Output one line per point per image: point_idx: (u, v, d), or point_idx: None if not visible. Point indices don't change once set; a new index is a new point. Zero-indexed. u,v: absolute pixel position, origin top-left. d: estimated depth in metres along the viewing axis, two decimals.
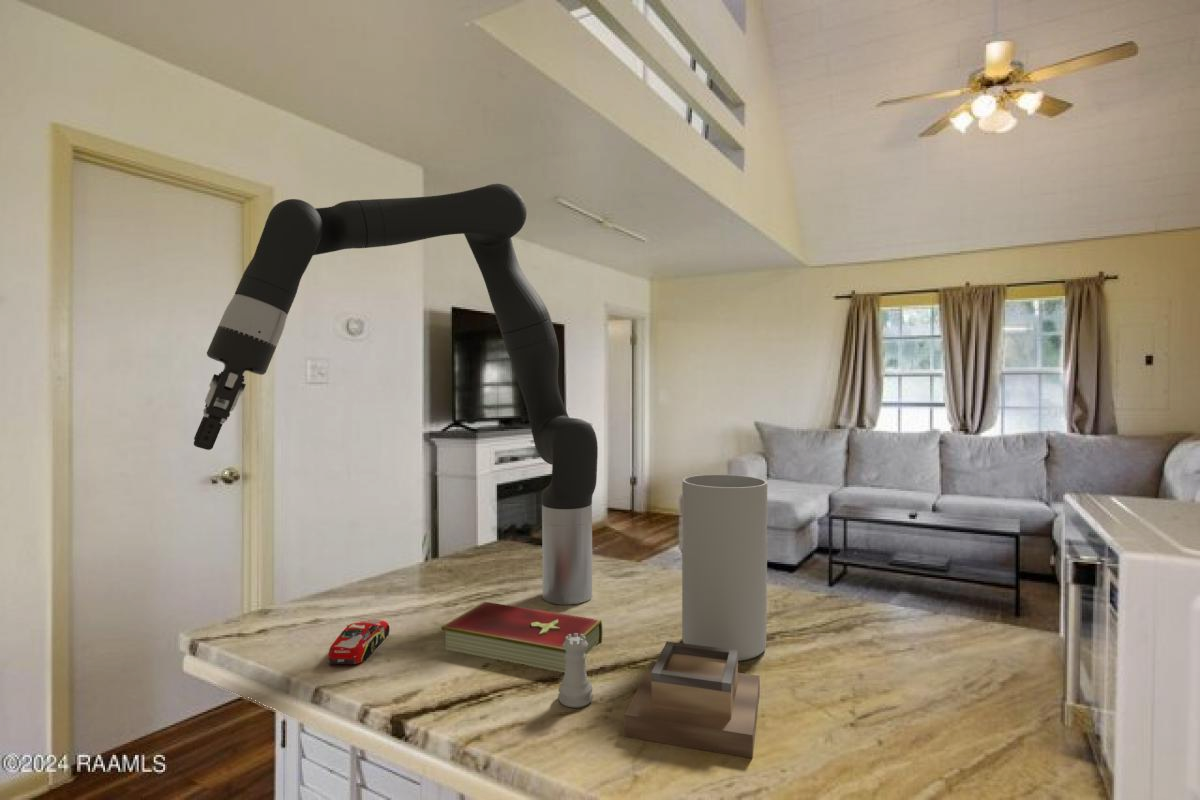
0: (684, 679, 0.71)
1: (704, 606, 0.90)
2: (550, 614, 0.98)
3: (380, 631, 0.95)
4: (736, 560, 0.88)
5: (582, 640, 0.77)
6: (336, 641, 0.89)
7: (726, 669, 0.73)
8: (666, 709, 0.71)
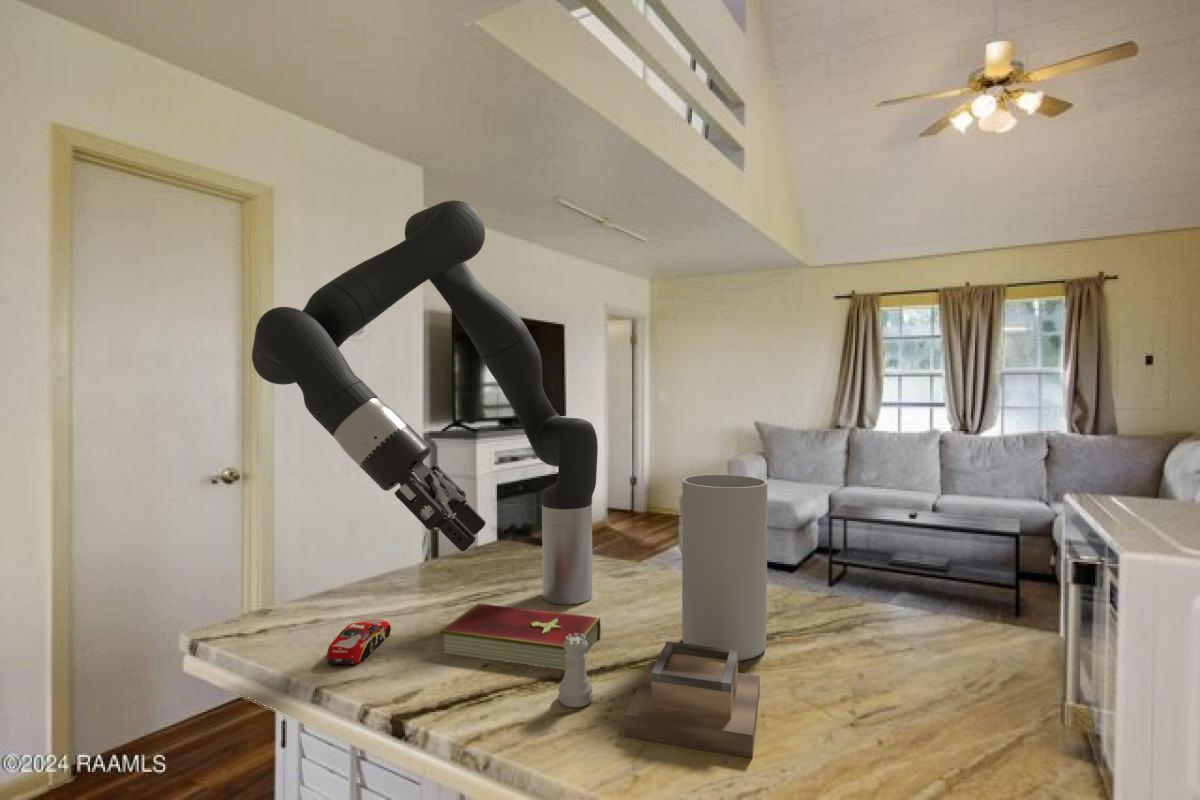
0: (684, 679, 0.71)
1: (704, 606, 0.90)
2: (547, 613, 0.98)
3: (380, 631, 0.95)
4: (736, 560, 0.88)
5: (582, 640, 0.77)
6: (335, 641, 0.89)
7: (726, 669, 0.73)
8: (666, 709, 0.71)
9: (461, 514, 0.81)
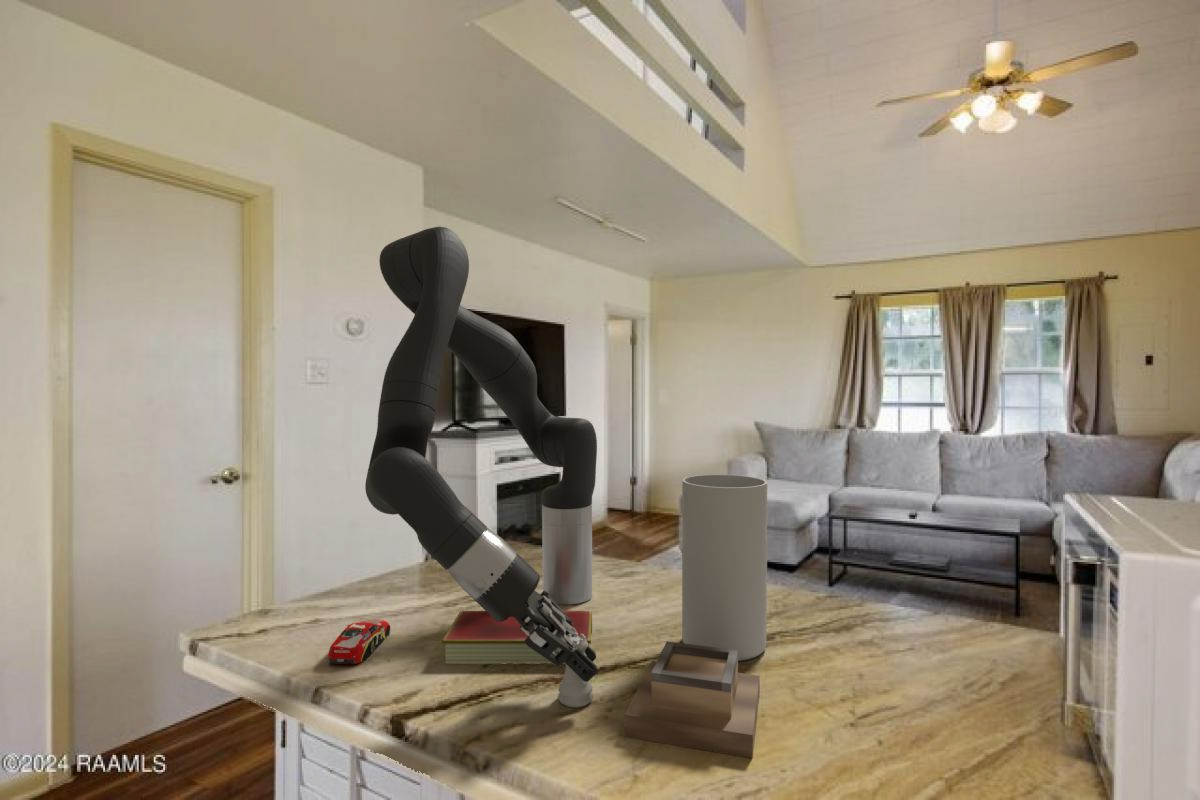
0: (684, 679, 0.71)
1: (704, 606, 0.90)
2: None
3: (380, 631, 0.95)
4: (736, 560, 0.88)
5: (582, 640, 0.77)
6: (336, 641, 0.89)
7: (726, 669, 0.73)
8: (666, 709, 0.71)
9: None
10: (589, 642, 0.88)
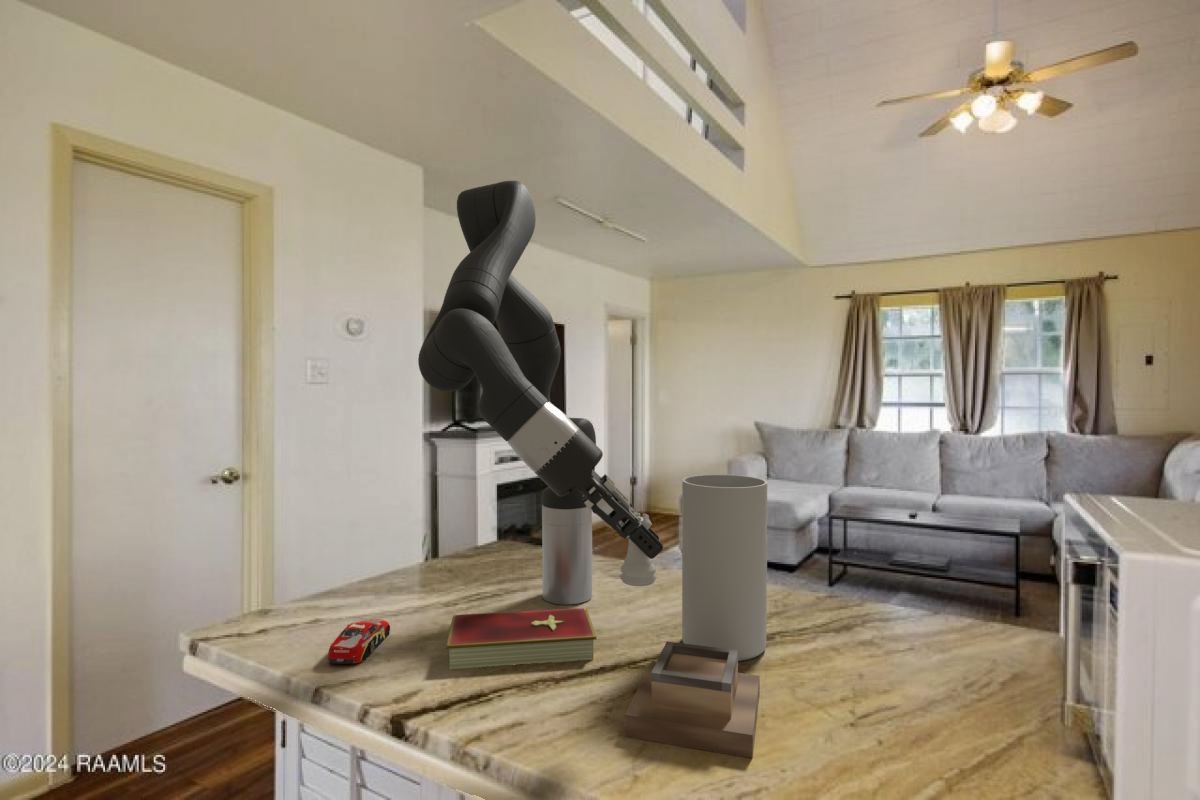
0: (684, 679, 0.71)
1: (704, 606, 0.90)
2: (535, 612, 0.99)
3: (380, 631, 0.95)
4: (736, 560, 0.88)
5: (646, 517, 0.75)
6: (336, 641, 0.90)
7: (726, 669, 0.73)
8: (666, 709, 0.71)
9: None
10: (595, 638, 0.90)
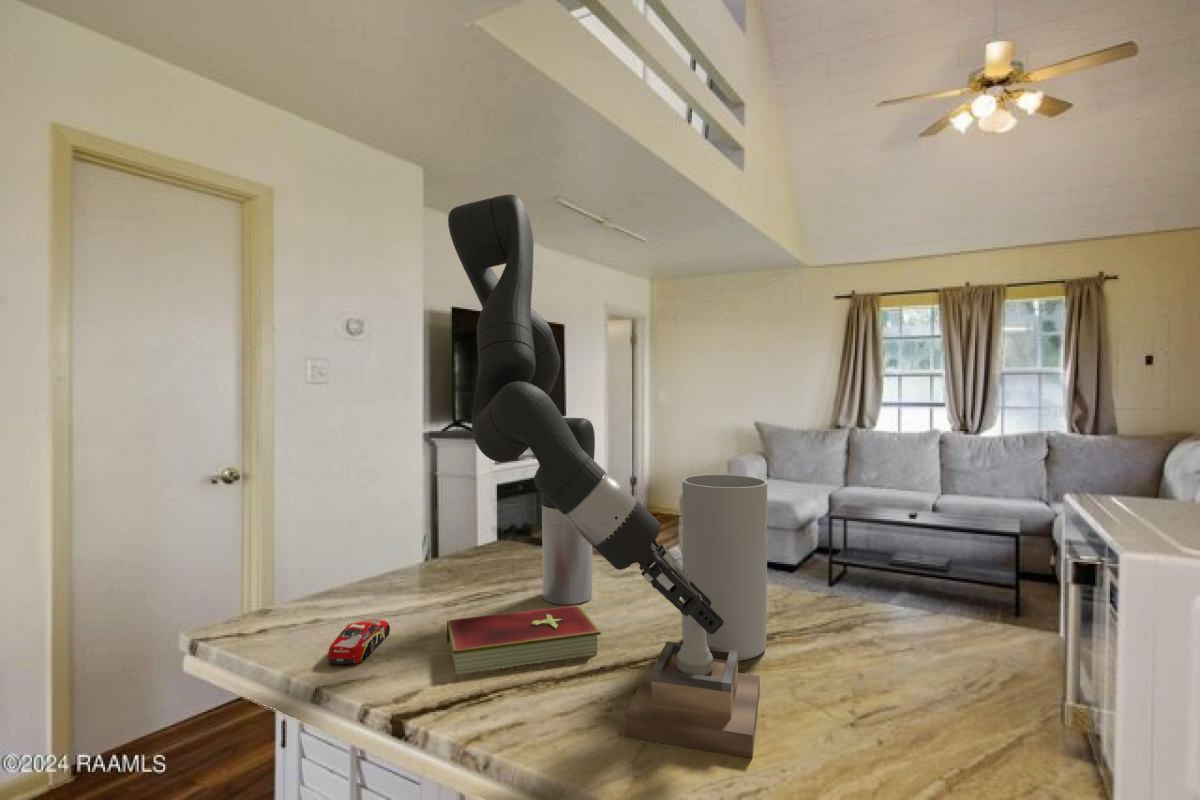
0: (684, 679, 0.71)
1: None
2: (530, 612, 0.99)
3: (380, 631, 0.96)
4: (736, 560, 0.88)
5: None
6: (336, 640, 0.90)
7: (726, 669, 0.73)
8: (666, 709, 0.71)
9: (687, 593, 0.77)
10: (599, 633, 0.91)
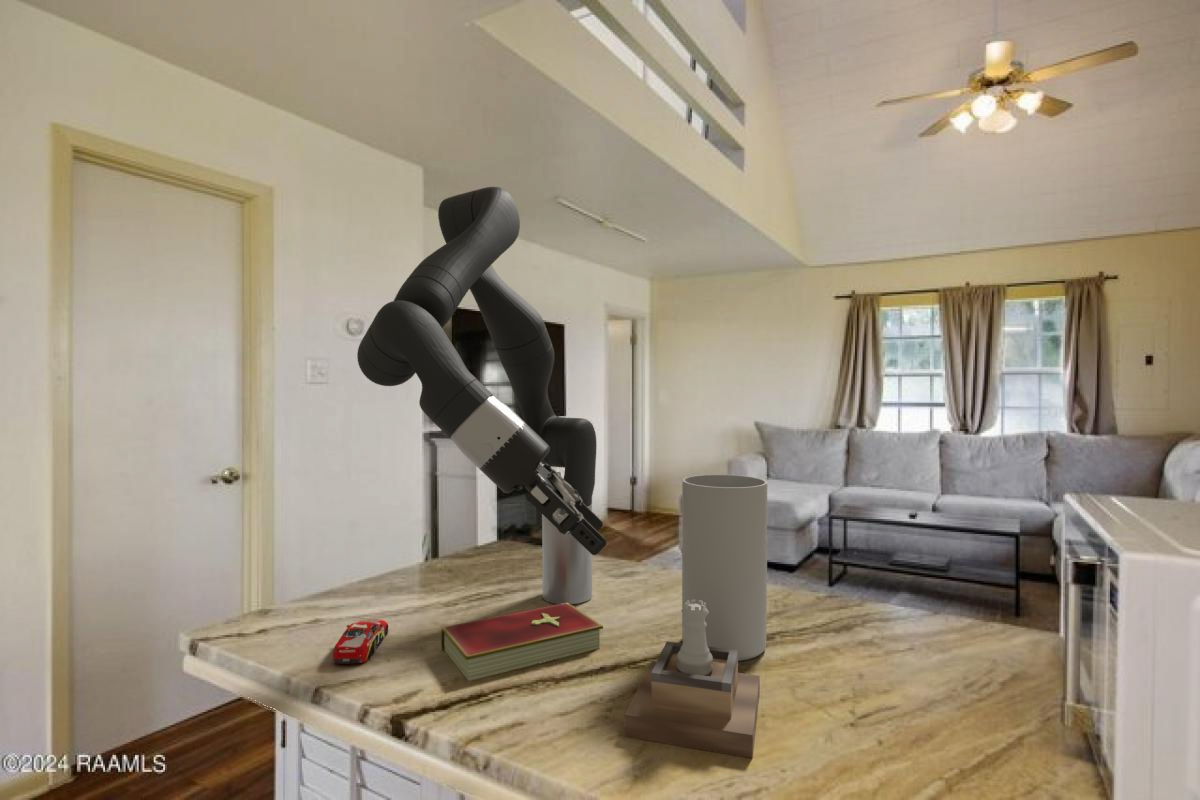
0: (684, 679, 0.71)
1: None
2: (523, 613, 0.99)
3: (381, 630, 0.96)
4: (736, 560, 0.88)
5: (704, 606, 0.74)
6: (340, 641, 0.89)
7: (726, 669, 0.73)
8: (666, 709, 0.71)
9: None
10: (601, 627, 0.93)
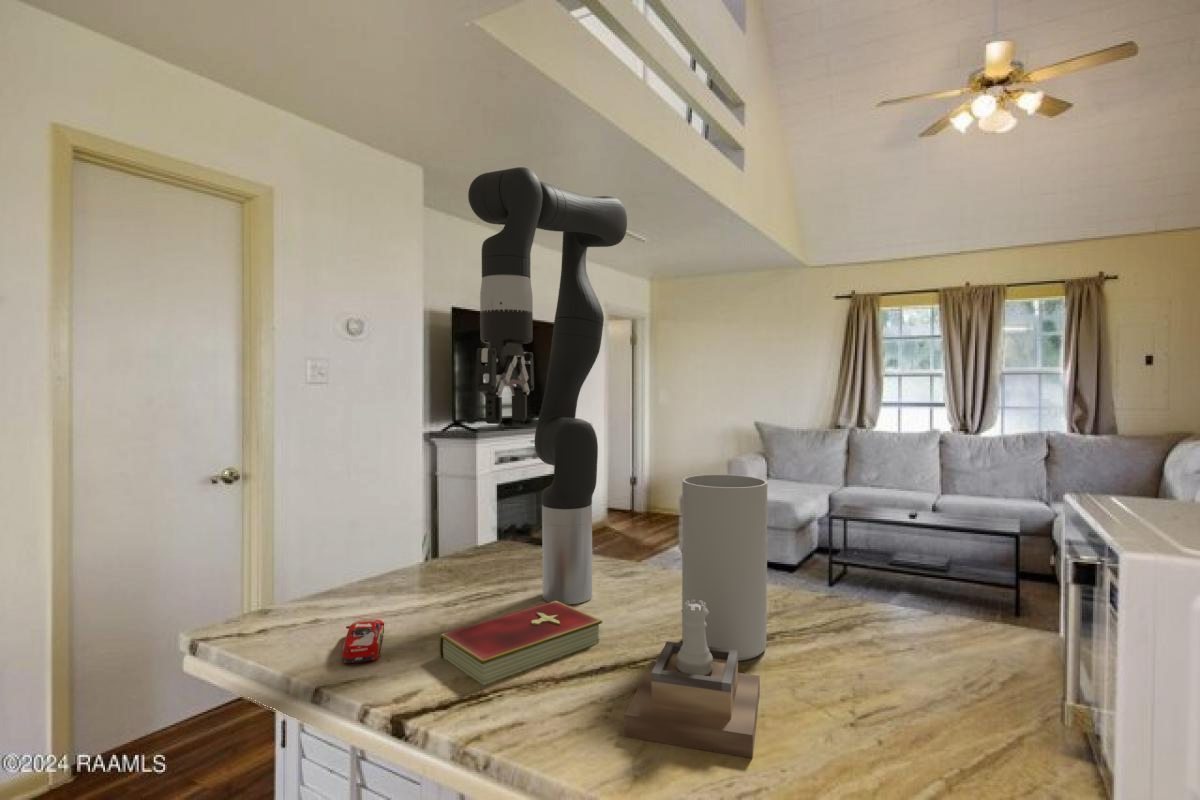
0: (684, 679, 0.71)
1: None
2: (517, 614, 0.98)
3: (382, 628, 0.96)
4: (736, 560, 0.88)
5: (704, 606, 0.74)
6: (349, 641, 0.89)
7: (726, 669, 0.73)
8: (666, 709, 0.71)
9: (516, 399, 0.95)
10: (601, 622, 0.95)
